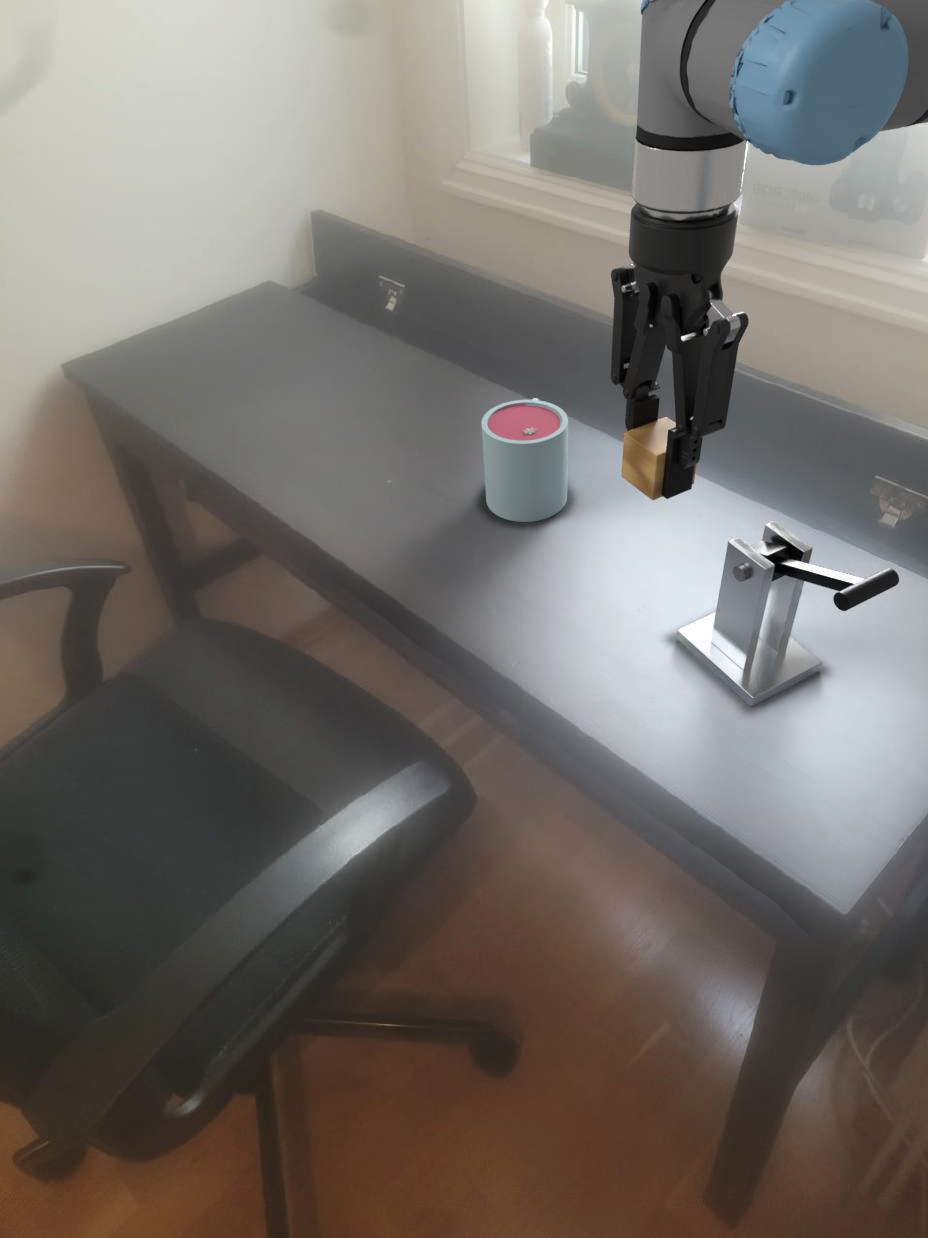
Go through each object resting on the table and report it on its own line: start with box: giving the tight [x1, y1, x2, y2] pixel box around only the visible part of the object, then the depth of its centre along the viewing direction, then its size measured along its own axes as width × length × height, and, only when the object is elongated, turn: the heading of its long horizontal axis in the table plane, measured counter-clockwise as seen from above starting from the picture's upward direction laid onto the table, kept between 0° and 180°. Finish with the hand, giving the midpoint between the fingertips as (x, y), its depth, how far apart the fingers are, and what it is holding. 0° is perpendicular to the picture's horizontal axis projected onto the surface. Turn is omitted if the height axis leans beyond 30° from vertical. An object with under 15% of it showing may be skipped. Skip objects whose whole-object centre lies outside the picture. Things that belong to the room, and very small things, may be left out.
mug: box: [480, 397, 569, 523], centre depth 97 cm, size 14×9×10 cm
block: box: [620, 416, 697, 501], centre depth 76 cm, size 5×5×5 cm
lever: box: [749, 540, 900, 612], centre depth 67 cm, size 12×5×2 cm, turn 29°
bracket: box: [675, 520, 823, 708], centre depth 75 cm, size 10×8×13 cm
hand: (657, 477), depth 77 cm, fingers closed on block, 5 cm apart
